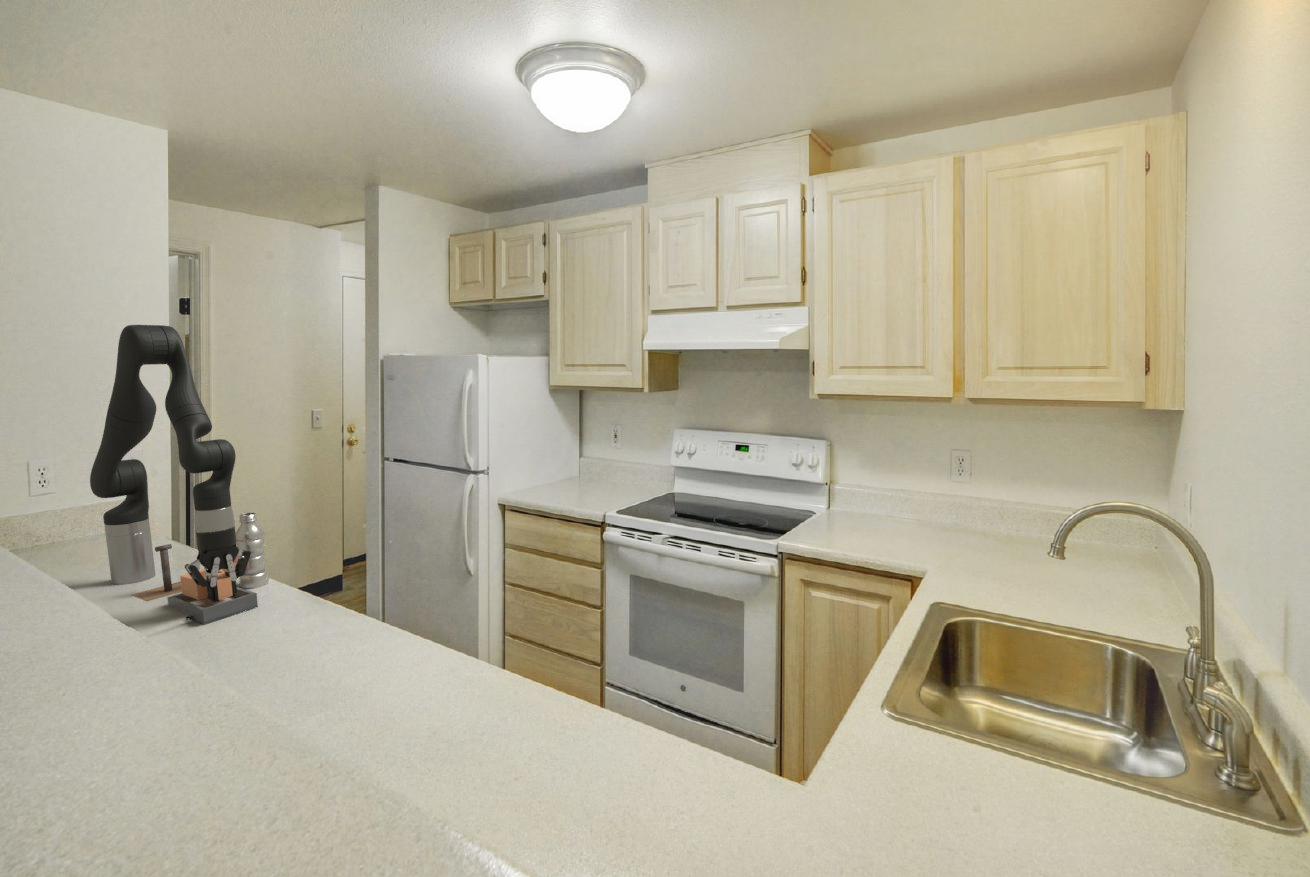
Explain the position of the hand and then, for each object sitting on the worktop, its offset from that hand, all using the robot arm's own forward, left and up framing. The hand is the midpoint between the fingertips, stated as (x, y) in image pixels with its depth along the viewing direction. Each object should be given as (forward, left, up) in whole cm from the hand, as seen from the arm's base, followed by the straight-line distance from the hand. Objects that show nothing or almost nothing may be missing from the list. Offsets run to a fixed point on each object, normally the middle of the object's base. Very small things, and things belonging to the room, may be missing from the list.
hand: (222, 598), depth 152 cm
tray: (-5, 0, -4) cm, 6 cm away
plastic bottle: (-10, +12, -4) cm, 16 cm away
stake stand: (-25, -1, -4) cm, 25 cm away
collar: (-5, 0, 0) cm, 5 cm away
